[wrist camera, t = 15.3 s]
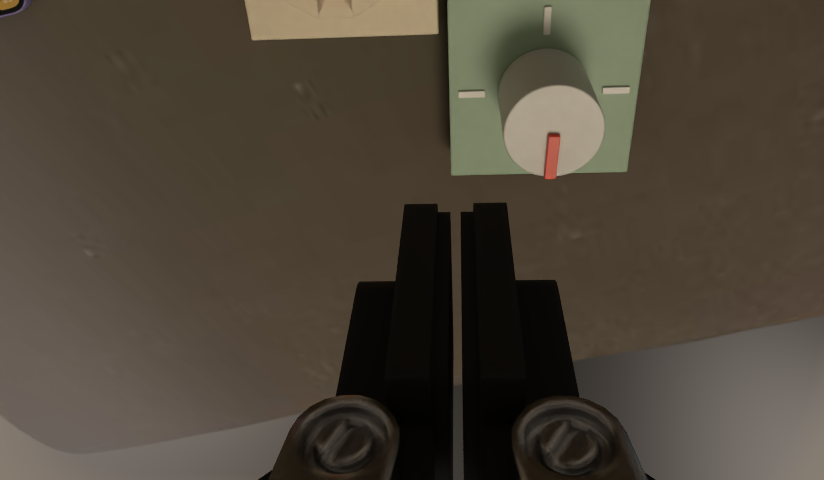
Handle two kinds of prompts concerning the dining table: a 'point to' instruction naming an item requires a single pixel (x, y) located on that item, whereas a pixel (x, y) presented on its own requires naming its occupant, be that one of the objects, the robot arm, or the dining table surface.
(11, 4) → the smartphone
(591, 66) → the dial panel
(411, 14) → the housing
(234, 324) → the dining table surface
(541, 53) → the timer dial
